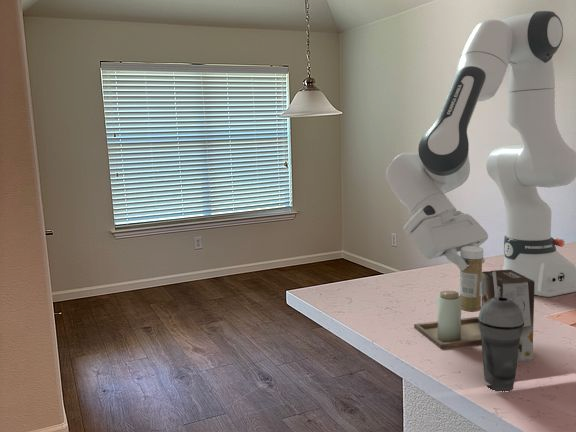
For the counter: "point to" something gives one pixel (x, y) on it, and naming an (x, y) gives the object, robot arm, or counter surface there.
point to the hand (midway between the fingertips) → (473, 266)
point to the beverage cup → (500, 340)
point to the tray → (468, 337)
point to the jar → (449, 316)
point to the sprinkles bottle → (471, 279)
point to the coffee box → (520, 294)
